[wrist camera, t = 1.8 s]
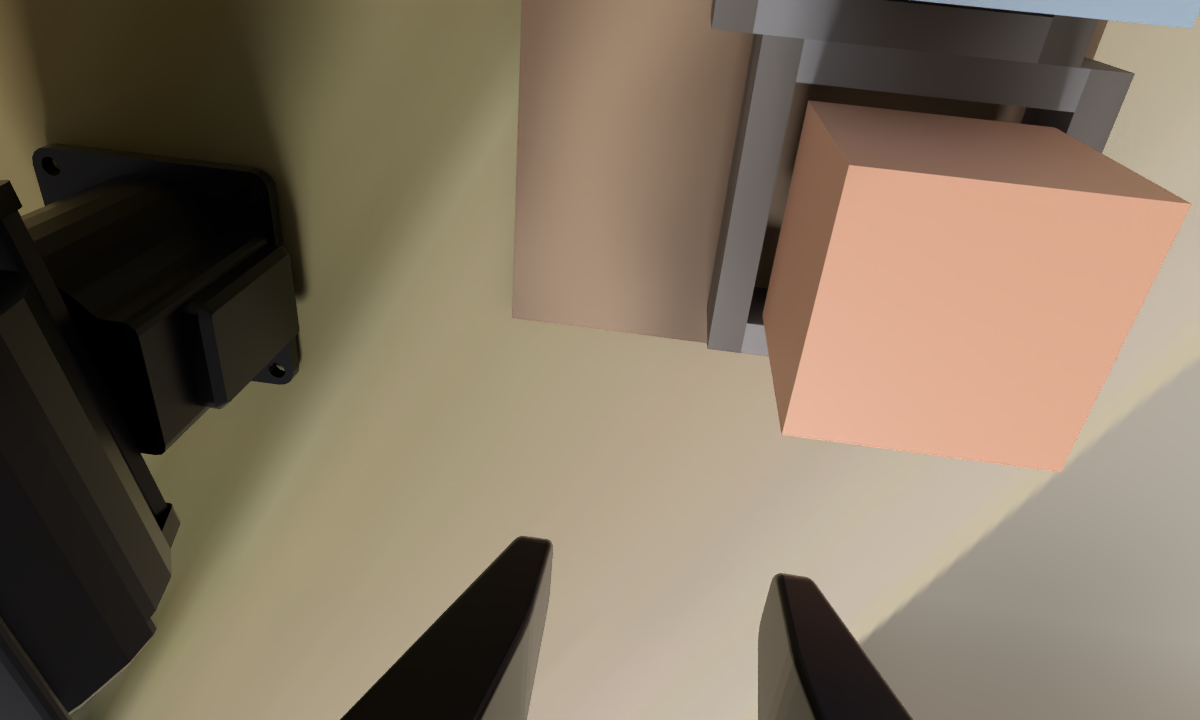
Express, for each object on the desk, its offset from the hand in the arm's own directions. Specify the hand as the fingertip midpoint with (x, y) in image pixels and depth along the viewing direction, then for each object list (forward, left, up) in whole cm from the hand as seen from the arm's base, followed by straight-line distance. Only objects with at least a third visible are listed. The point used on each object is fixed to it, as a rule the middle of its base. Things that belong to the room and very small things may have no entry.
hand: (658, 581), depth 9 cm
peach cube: (+4, +1, -10) cm, 11 cm away
